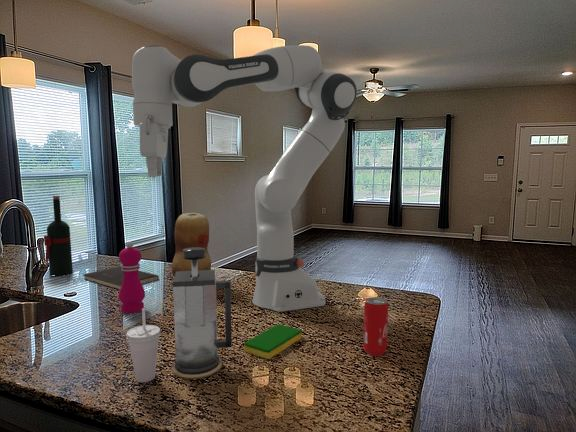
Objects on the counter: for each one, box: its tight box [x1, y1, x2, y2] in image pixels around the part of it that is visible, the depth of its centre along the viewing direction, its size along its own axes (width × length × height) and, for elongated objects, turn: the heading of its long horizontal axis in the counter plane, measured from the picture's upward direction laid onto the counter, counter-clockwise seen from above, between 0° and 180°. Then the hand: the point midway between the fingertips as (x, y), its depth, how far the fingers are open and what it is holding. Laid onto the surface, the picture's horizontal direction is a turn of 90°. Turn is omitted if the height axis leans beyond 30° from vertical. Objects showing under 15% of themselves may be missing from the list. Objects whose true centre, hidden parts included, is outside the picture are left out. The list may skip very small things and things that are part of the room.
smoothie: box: [126, 307, 162, 383], centre depth 82 cm, size 6×6×14 cm
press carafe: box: [171, 269, 233, 380], centre depth 87 cm, size 12×10×20 cm
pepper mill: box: [118, 241, 146, 315], centre depth 120 cm, size 7×7×20 cm
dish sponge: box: [243, 323, 302, 360], centre depth 99 cm, size 7×14×2 cm, turn 146°
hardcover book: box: [82, 265, 160, 290], centre depth 153 cm, size 16×23×2 cm
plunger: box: [183, 247, 205, 277], centre depth 85 cm, size 6×6×14 cm
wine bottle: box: [43, 195, 74, 277], centre depth 158 cm, size 8×10×30 cm
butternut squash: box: [171, 212, 212, 277], centre depth 147 cm, size 14×13×25 cm
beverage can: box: [363, 296, 389, 357], centre depth 94 cm, size 5×5×12 cm
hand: (155, 176), depth 100 cm, fingers open, 8 cm apart
